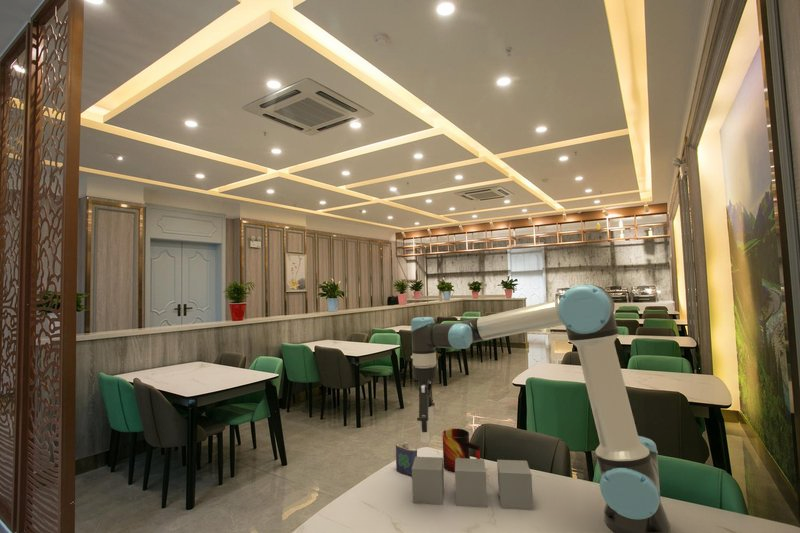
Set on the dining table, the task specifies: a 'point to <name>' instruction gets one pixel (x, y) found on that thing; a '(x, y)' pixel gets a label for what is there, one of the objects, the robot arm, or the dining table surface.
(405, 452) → the flask
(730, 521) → the dining table surface
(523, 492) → the pale grey cube
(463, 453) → the mug
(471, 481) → the pale gray cube
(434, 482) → the large plain grey block
